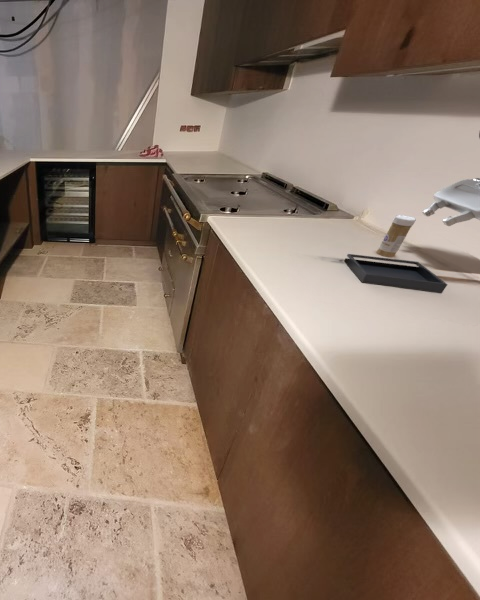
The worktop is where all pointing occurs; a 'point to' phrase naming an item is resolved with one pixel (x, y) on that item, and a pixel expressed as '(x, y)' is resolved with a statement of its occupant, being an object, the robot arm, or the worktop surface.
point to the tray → (395, 274)
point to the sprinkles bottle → (395, 235)
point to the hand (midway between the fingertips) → (434, 218)
